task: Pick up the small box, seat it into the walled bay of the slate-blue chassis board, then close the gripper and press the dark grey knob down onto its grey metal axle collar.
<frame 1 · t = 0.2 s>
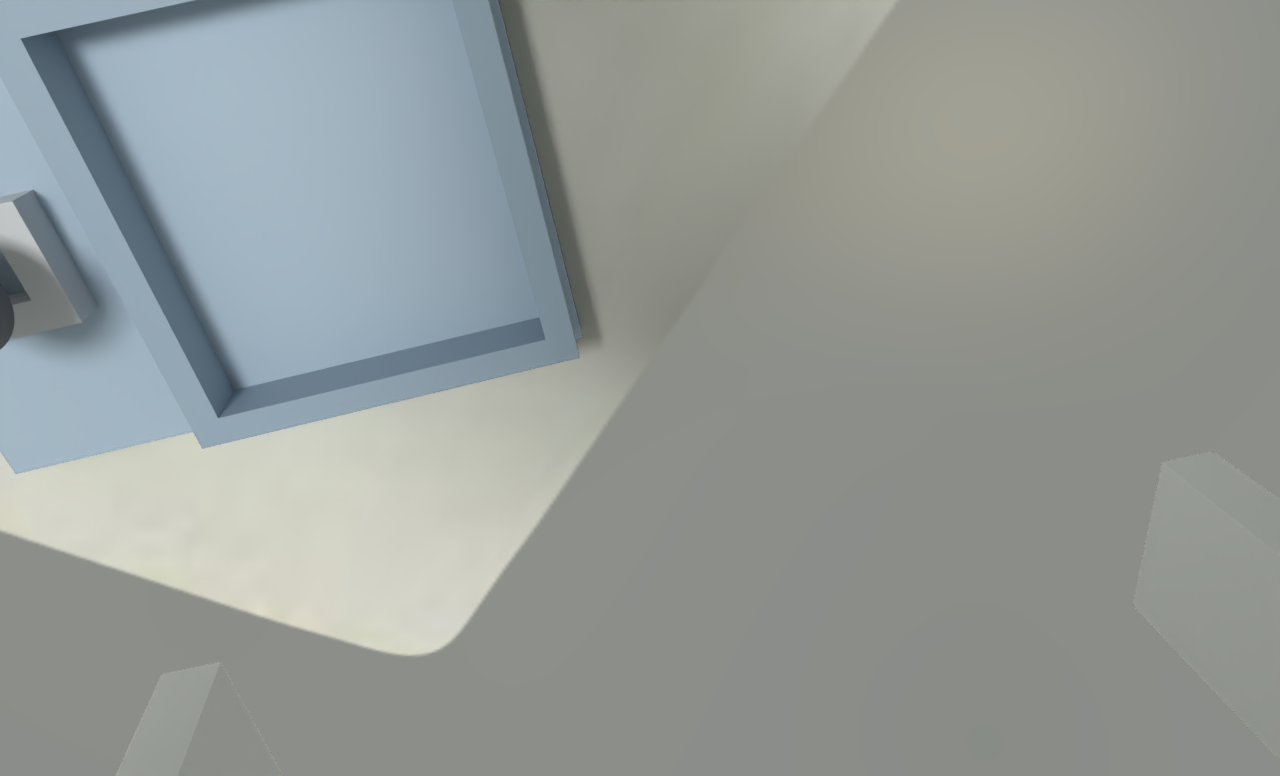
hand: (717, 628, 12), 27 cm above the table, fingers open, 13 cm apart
chassis: (223, 208, 34), on the table
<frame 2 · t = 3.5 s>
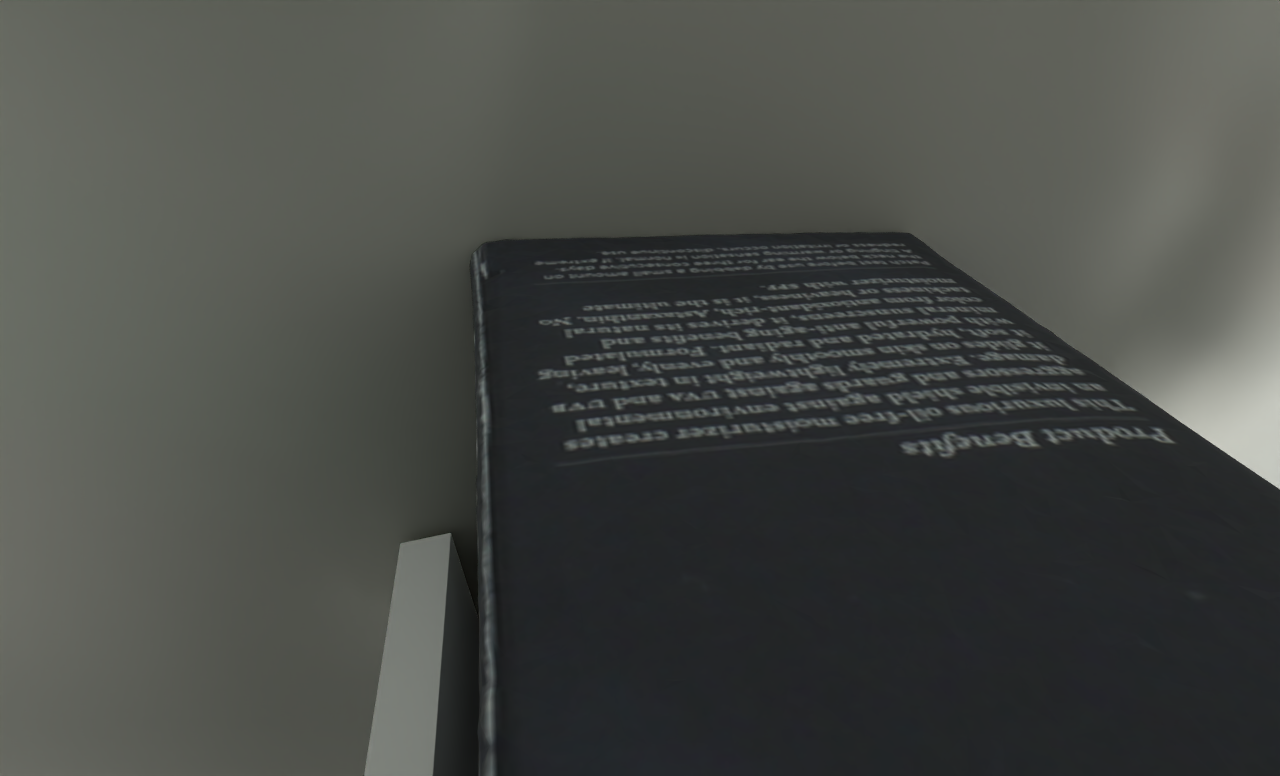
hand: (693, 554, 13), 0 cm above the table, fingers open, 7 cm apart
small box: (688, 535, 14), on the table, touching gripper
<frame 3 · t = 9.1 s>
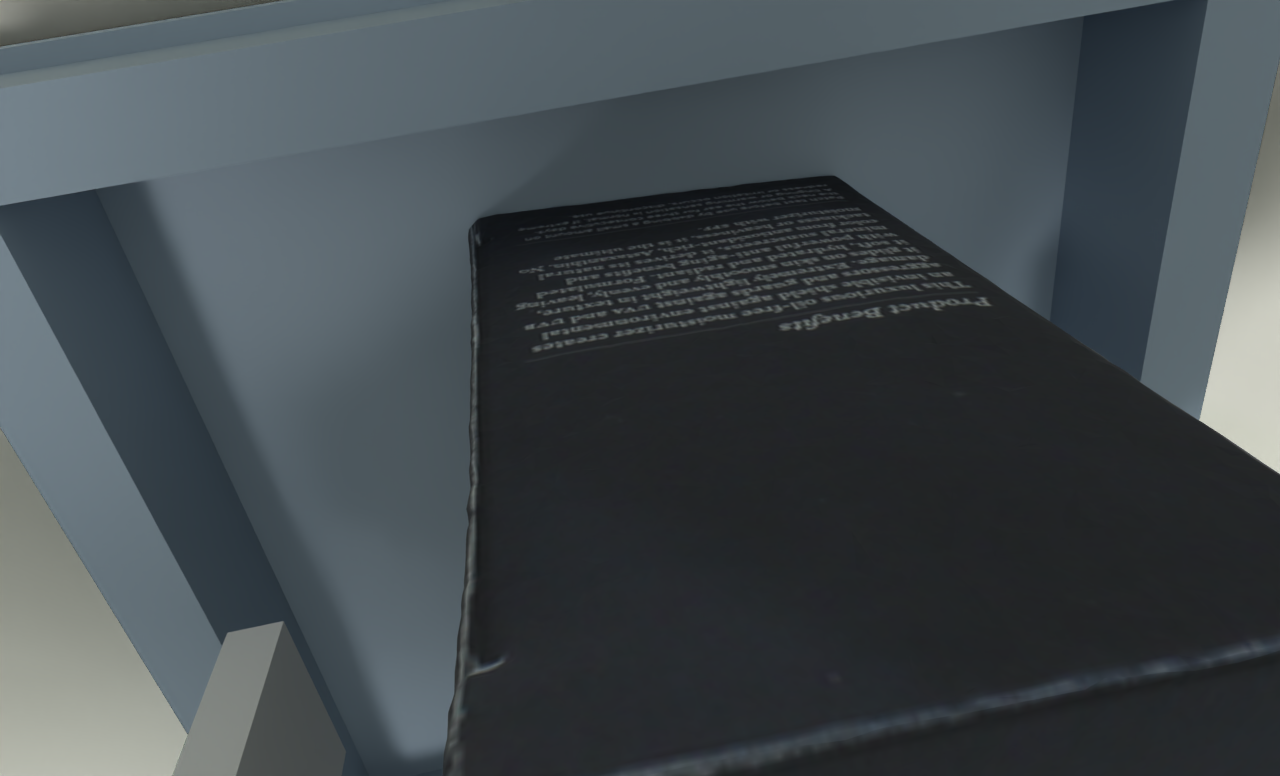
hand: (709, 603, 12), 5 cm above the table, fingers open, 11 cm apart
chassis: (680, 599, 19), on the table
small box: (681, 456, 16), point 1 cm above the table, touching chassis
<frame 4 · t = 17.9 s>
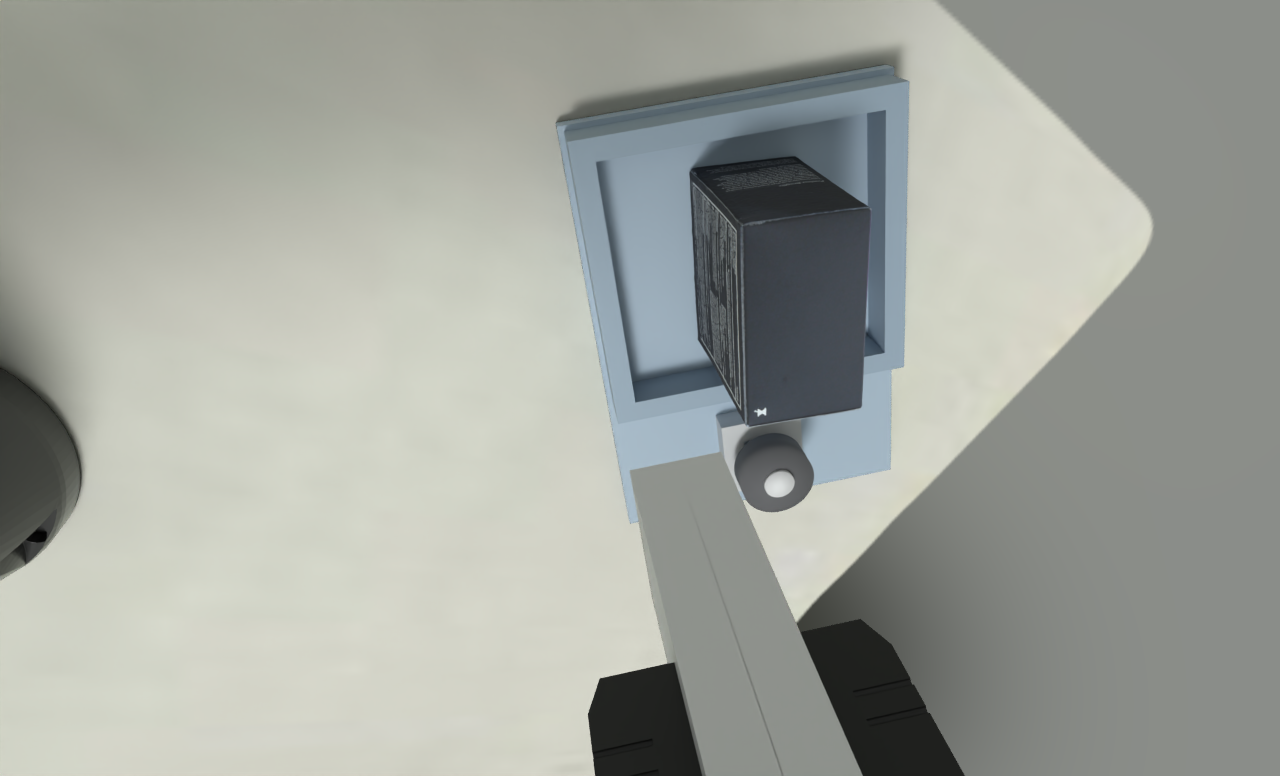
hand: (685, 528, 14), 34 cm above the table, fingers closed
chassis: (742, 315, 51), on the table
dark grey knob: (770, 466, 51), point 4 cm above the table, slide at 1.5 cm
small box: (746, 251, 48), point 1 cm above the table, touching chassis
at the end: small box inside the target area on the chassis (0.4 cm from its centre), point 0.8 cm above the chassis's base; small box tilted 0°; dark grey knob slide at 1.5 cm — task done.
